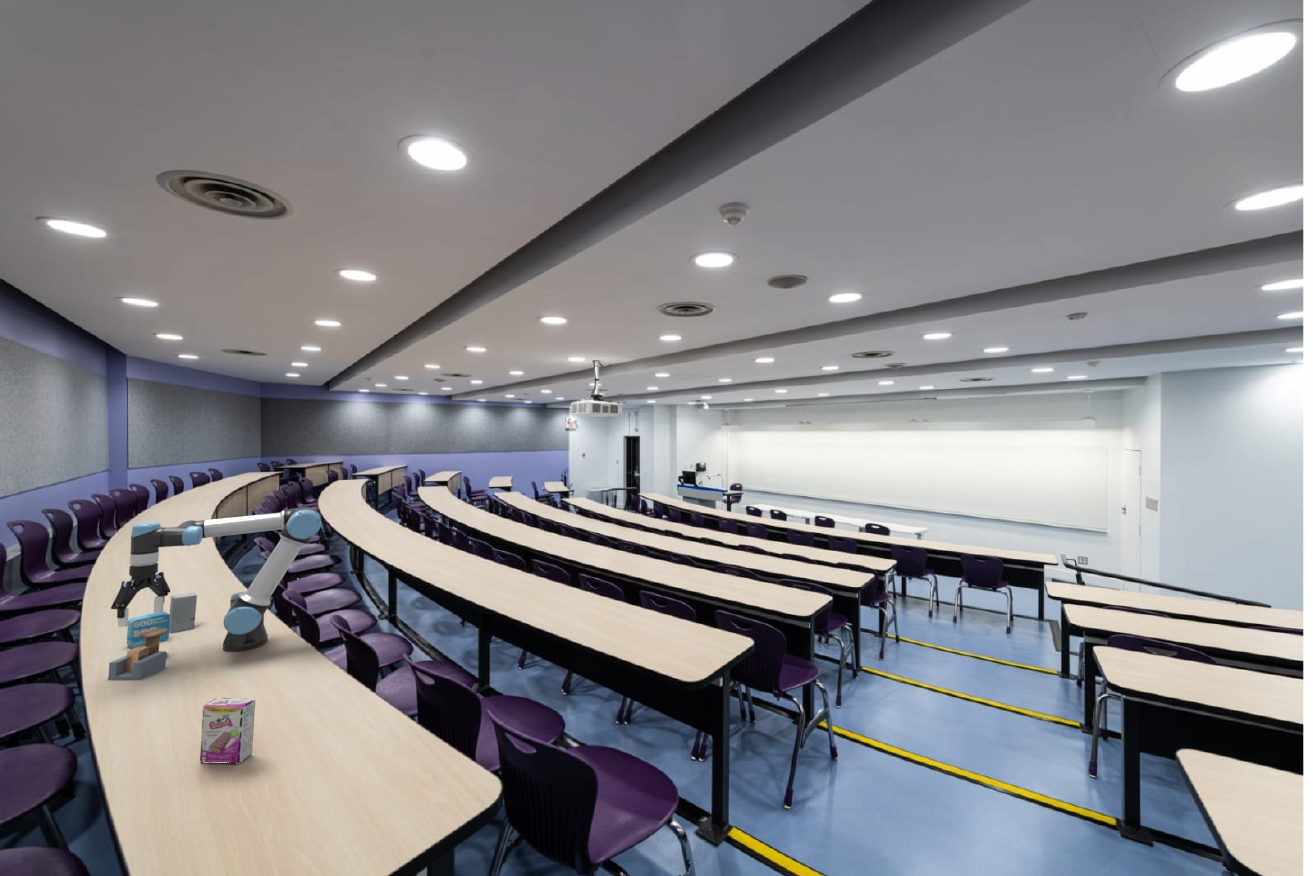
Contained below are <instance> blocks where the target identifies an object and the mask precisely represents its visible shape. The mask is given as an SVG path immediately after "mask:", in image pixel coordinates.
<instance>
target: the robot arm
mask: <svg viewBox="0 0 1313 876" xmlns="http://www.w3.org/2000/svg"><path fill="white" fill-rule="evenodd" d="M321 527H322V516H321V513H320V512H319V511H318V510H317V509H315V508H314V507H311V506H301V507H295V508H290V509H283V510H282V511H280V512H273V513H263V514H254V515H243V516H241V515H240V516H236V517H235V516H233V517H231V516H230V517H223V518H213V519H205V520H202V519H201V520H195V519H193V520H192V519H191V520H190V519H189V520H187V521H183V522H182V523H181V524H179V525H178V526H171V527H170V526H169V527H168V526H167V527H162V526H161V523H159V522H158V521H157V522H155V521H154V522H152V521H151V522H139V523H135V524H134V525H132V527H131V535H130V553H129V554H130V558H129V565H130V566H129V569H128V570H129V571H128V572H129V573H128V574H129V576H130V577H131V578H130V580H123V581H121V584H120V588H119V591H118V593H117V595H116V596H115V598H114V600H113V603H112V604H111V607H110V609H111V610H116V611H117V612H116V618H117V619H118V620H117V628H118V627H119V628H121V627H122V628H124V627H125V628H126V627H128V621H129V612H130V611H129V610H130V609H129V608H128V606H129V605H130V603H131V602H132V601H133V599H134V597H136V595H137V594H138V593H139V592H141V590H144V589H146V588H149V589H150V591H152V592H153V593H154V594H155V595H156V596H154V603H153V613H157V614H161V613H163V612H164V604H165V599H166V598H165V597H167V596H168V595H169V593H171V589H170V587H169V584H168V583H167V582H168V581H166V578H165V576H164V574H165V573H164V572H163V571H159V558H160V557H159V556H160V548H165V547H166V548H167V547H168V548H169V547H190V546H197V545H200V544H201V542H202V540H203V539H206V538H207V539H208V538H218V537H222V536H223V537H224V536H225V537H226V536H235V535H241V534H243V535H244V534H252V533H261V532H269V531H276V530H277V531H278V530H281V531H280V533H279V537H280V539H279V542H278V543H277V544H276V546H275V547H274V549H273V550H272V552H271V553H270V555H269V556H268V558H267V559H266V561H265V562H264V564H263V566H262V567H261V569H260V570H259V572H258V573H257V575H256V577H255V578H254V579H253V581H252V582H251V584H250V586H248V589H247V590H246V591H241V592H235V593H233V594H232V595H231V596H230V599H229V602H230V607H229V609H228V611H227V613H226V614H225V616H224V617H223V627H224V629H225V630H226V631H227V633H226V635H225V638H224V640H223V642H222V650H223V651H225V652H242V651H247V650H251V649H256V648H258V647H261V646H264V645H265V644H267V642H268V641H269V635H268V633H267V629H266V626H265V613H266V611H267V610H268V609H269V607H270V606H271V600H270V598H271V596H272V595H273V593H274V592H275V590H276V588H277V586H278V585H279V584H280V582H281V581H282V579H283V578H284V576H285V574H287V571H288V570H289V568H290V567H291V565H292V564H293V562H294V560H295V558H296V557H297V556H298V554H299V553H300V551H301V549H303V547H305V546H308V545H309V544H310V542H311V541H312V540H313V538H314V537H315V535H316V534H317V533H318V532H319V531H320V529H321Z"/></svg>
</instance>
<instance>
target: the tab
mask: <svg viewBox="0 0 1313 876" xmlns="http://www.w3.org/2000/svg"><path fill="white" fill-rule="evenodd" d="M126 655H127V664H126V673H133V667H134V663H135V662H137V661H139V660H141V659H144V658H146V657H148V656H149V647H145V646H141V647H136V648H132V649H129V650H127V651H126Z"/></svg>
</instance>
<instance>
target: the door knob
mask: <svg viewBox="0 0 1313 876" xmlns="http://www.w3.org/2000/svg"><path fill="white" fill-rule="evenodd" d="M165 633H167V629H166V628H155V629H149V630H146V631H143V632H140V633H139V635H138V637H139V638H146V639H145V646H144V647H149V656H150V655H153V654H155V653H157V652H159V651H160V642H159V641H160V635H163V634H165ZM167 657H168V652H167V651H166V658H167Z"/></svg>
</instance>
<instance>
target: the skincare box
mask: <svg viewBox="0 0 1313 876" xmlns="http://www.w3.org/2000/svg"><path fill="white" fill-rule="evenodd" d="M197 598H198V595H197V593H195V592H191V593H189V592H188V593H181V594H173V595H170V606H169V613H168V614H169V615H170V628H169V633H171V634H174V633H178V632H185V631H188V630H192V629H195V621H196V613H197V612H196V611H197V600H198V599H197Z"/></svg>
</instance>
